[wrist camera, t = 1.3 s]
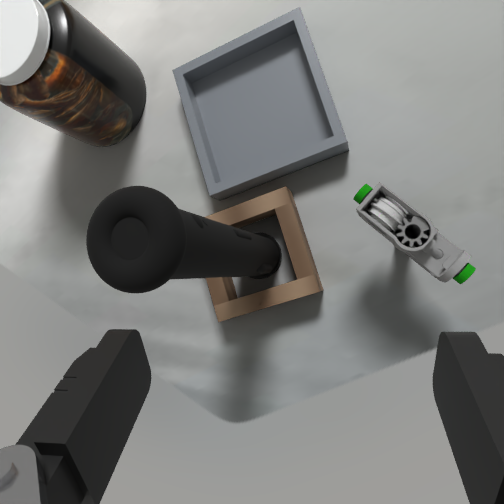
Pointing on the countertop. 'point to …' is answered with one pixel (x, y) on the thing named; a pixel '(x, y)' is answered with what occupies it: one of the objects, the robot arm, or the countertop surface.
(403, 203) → the mechanical component
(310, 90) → the tray
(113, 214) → the tube
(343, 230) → the countertop surface
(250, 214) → the collar
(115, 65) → the jar
